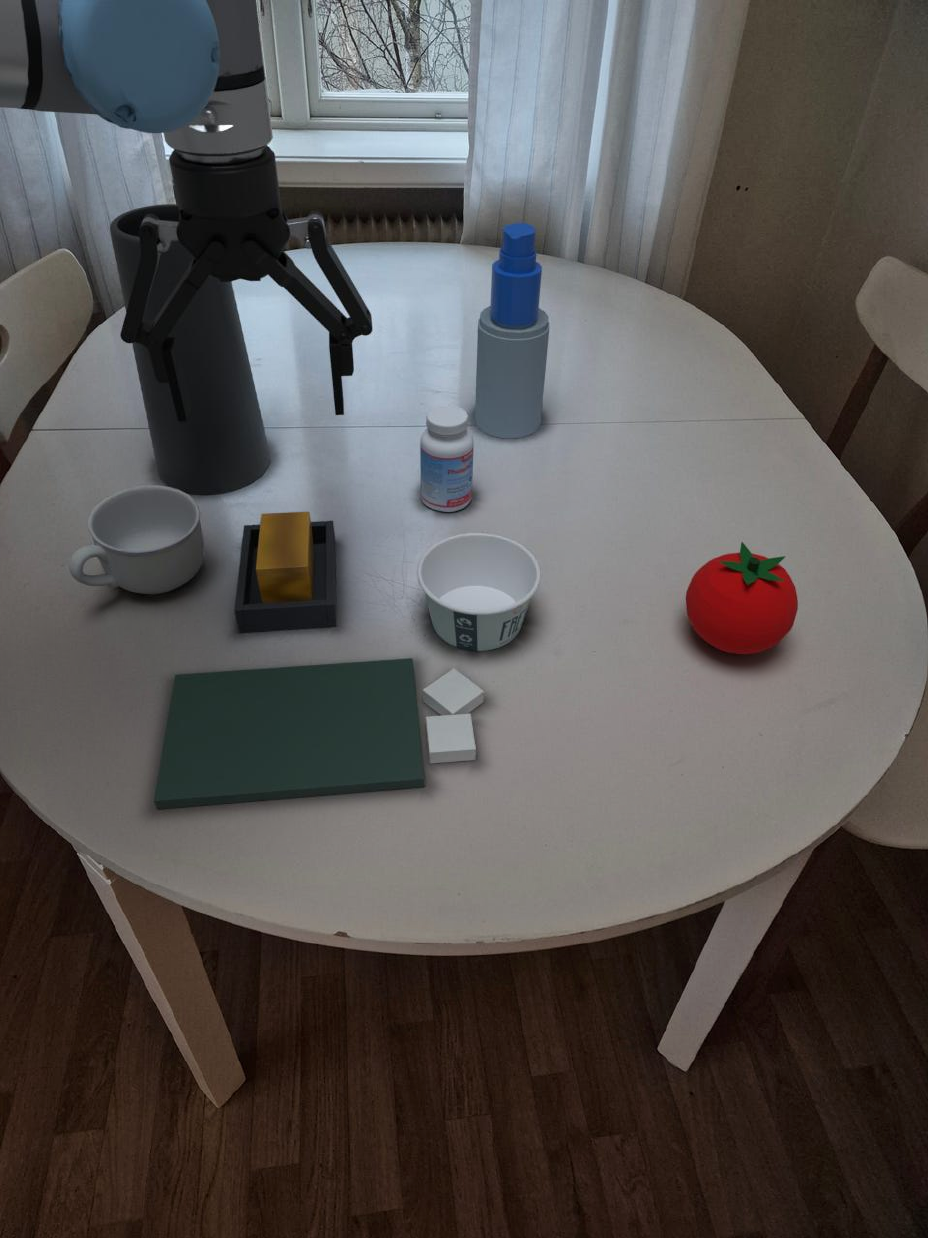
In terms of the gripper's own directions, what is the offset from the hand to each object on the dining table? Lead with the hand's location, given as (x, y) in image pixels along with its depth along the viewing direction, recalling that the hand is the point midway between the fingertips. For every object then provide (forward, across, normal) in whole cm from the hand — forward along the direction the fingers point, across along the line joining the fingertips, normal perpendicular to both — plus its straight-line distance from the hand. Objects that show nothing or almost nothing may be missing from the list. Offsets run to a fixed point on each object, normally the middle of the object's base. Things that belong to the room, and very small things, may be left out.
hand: (262, 410), depth 77 cm
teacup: (+21, -15, +2) cm, 26 cm away
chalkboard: (+21, +1, -20) cm, 29 cm away
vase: (+21, -10, +24) cm, 33 cm away
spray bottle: (+21, +28, +31) cm, 47 cm away
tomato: (+21, +44, -12) cm, 50 cm away
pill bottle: (+21, +18, +14) cm, 31 cm away
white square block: (+21, +15, -18) cm, 31 cm away
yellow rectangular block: (+20, 0, 0) cm, 20 cm away
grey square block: (+21, +15, -23) cm, 34 cm away
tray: (+21, 0, 0) cm, 21 cm away
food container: (+21, +19, -7) cm, 29 cm away
